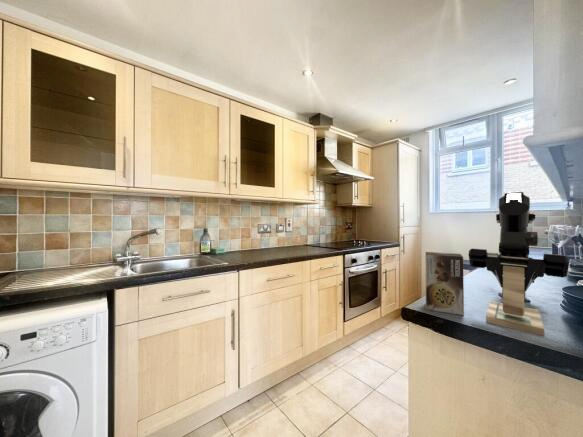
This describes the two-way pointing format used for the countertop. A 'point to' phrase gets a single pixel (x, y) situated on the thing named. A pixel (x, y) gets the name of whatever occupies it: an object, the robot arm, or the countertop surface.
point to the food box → (444, 282)
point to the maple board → (515, 319)
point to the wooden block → (513, 290)
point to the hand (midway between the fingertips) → (513, 288)
